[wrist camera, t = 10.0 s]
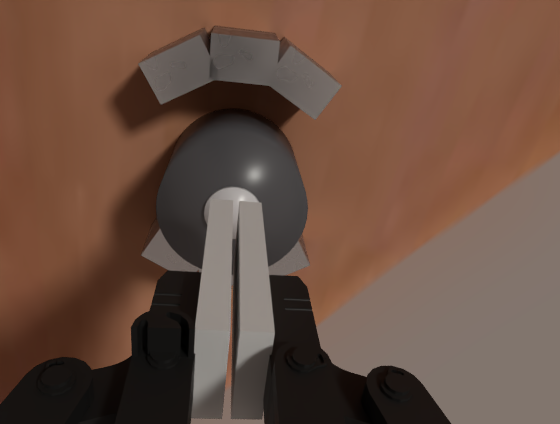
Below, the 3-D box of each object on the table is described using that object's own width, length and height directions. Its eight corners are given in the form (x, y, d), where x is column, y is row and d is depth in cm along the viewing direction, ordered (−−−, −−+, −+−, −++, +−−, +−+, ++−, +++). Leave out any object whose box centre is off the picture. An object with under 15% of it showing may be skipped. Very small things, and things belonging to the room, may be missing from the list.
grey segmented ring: (150, 18, 21) (137, 24, 18) (334, 40, 22) (348, 49, 19) (151, 249, 26) (141, 280, 23) (299, 258, 27) (305, 289, 24)
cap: (172, 102, 22) (155, 133, 18) (303, 114, 23) (319, 148, 19) (170, 219, 25) (155, 273, 21) (287, 227, 26) (297, 281, 21)
